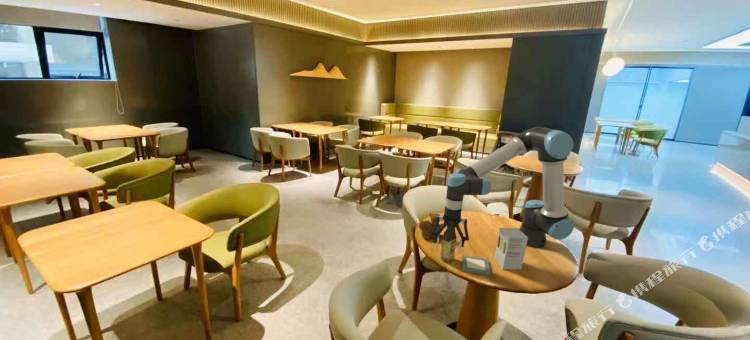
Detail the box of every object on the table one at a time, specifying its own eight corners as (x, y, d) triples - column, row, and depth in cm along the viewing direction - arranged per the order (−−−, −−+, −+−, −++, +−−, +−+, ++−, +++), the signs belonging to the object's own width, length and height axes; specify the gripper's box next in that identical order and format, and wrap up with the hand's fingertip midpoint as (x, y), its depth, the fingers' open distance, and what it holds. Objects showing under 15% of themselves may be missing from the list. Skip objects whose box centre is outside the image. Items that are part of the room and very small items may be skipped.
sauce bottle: (451, 264, 144) (456, 225, 138) (438, 260, 147) (442, 222, 141) (455, 258, 149) (460, 220, 144) (443, 254, 152) (447, 217, 147)
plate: (487, 261, 147) (488, 259, 147) (490, 276, 136) (490, 273, 136) (461, 257, 150) (462, 254, 150) (462, 271, 139) (462, 268, 138)
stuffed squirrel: (446, 238, 168) (449, 216, 164) (425, 243, 162) (427, 220, 158) (435, 230, 176) (438, 209, 173) (415, 234, 170) (416, 213, 167)
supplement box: (493, 258, 150) (499, 227, 146) (511, 258, 151) (517, 227, 146) (502, 270, 141) (508, 237, 137) (522, 269, 142) (528, 237, 137)
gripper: (478, 207, 141) (472, 250, 148) (429, 200, 147) (425, 242, 153) (479, 213, 134) (472, 258, 141) (428, 206, 140) (423, 250, 146)
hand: (448, 250), depth 147 cm, fingers open, 10 cm apart
